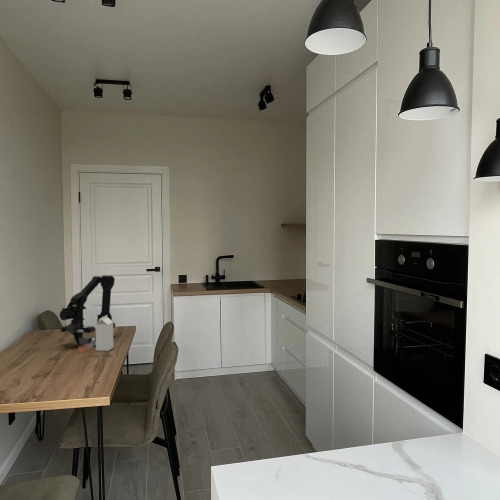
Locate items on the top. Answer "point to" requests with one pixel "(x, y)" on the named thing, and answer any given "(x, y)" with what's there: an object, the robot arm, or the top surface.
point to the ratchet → (88, 345)
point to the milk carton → (104, 334)
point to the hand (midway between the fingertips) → (77, 343)
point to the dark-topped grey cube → (84, 340)
